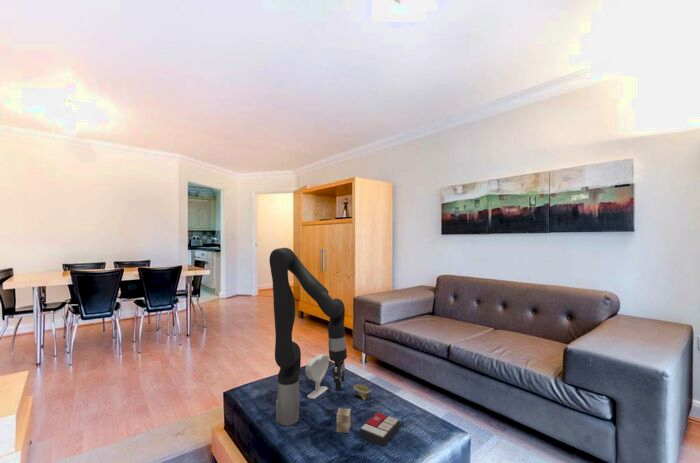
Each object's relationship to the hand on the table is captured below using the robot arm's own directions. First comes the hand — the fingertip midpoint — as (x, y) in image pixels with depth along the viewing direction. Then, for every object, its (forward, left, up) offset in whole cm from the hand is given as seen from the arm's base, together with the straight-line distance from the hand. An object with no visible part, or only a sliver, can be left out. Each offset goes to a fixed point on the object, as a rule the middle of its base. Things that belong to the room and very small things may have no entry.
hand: (340, 385), depth 133 cm
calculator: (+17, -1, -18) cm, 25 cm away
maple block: (+1, -1, -17) cm, 17 cm away
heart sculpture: (-17, +27, -18) cm, 36 cm away
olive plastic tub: (+6, +24, -18) cm, 31 cm away
